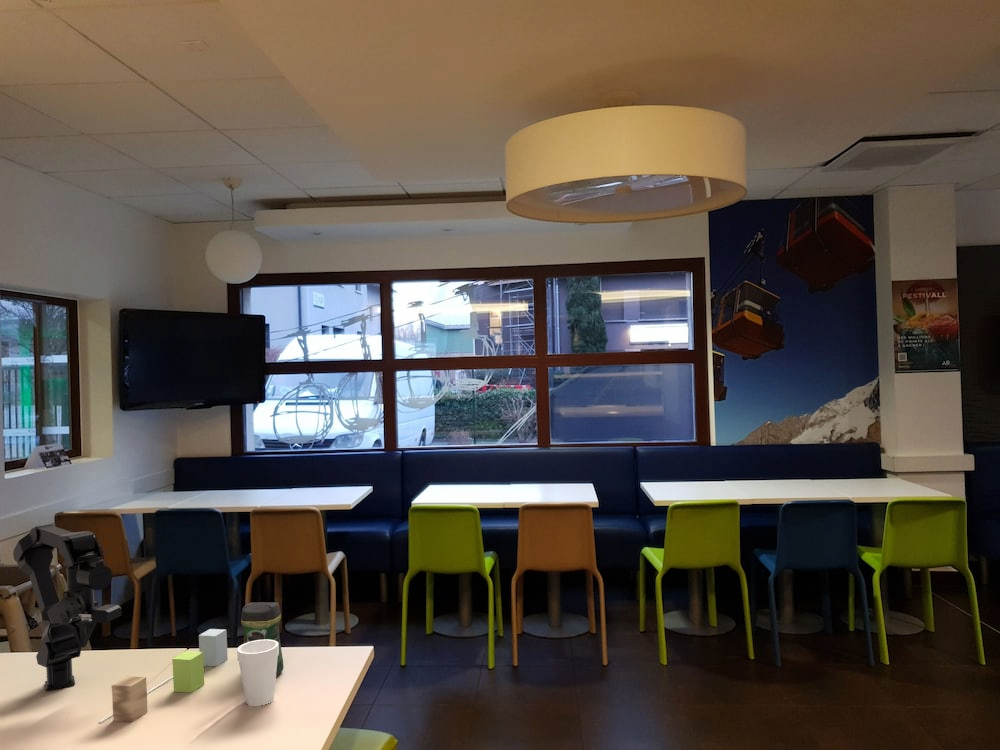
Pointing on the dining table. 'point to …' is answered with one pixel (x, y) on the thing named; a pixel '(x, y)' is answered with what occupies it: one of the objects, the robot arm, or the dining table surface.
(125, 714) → the brown wooden block
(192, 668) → the green block
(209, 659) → the blue-grey block
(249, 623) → the coffee jar
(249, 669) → the foam cup
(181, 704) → the dining table surface
